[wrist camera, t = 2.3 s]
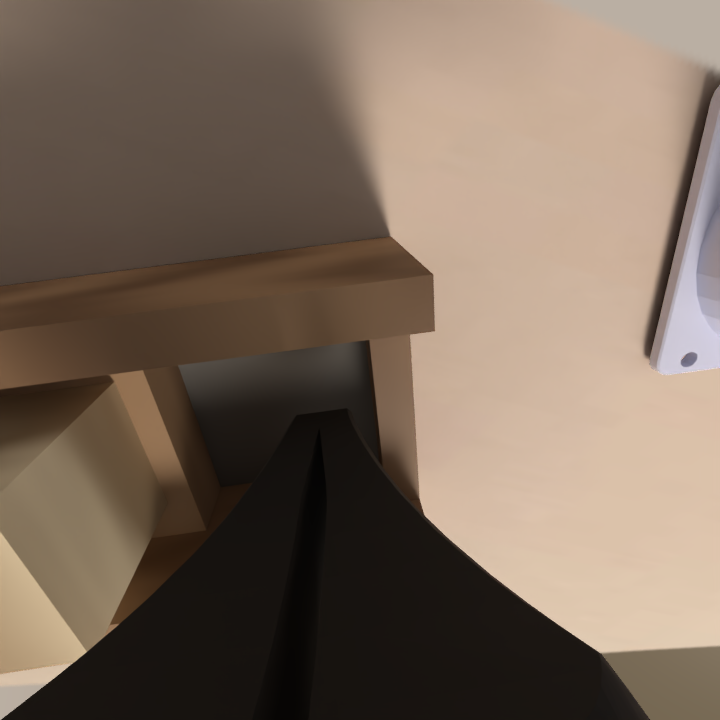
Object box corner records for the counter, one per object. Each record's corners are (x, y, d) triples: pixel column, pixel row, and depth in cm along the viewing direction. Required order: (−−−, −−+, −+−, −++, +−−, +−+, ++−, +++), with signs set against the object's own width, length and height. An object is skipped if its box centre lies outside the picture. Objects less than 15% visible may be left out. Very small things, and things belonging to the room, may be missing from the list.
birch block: (114, 381, 9) (-16, 508, 6) (167, 503, 11) (93, 659, 8) (-54, 404, 9) (-294, 548, 6) (25, 523, 11) (-119, 692, 7)
